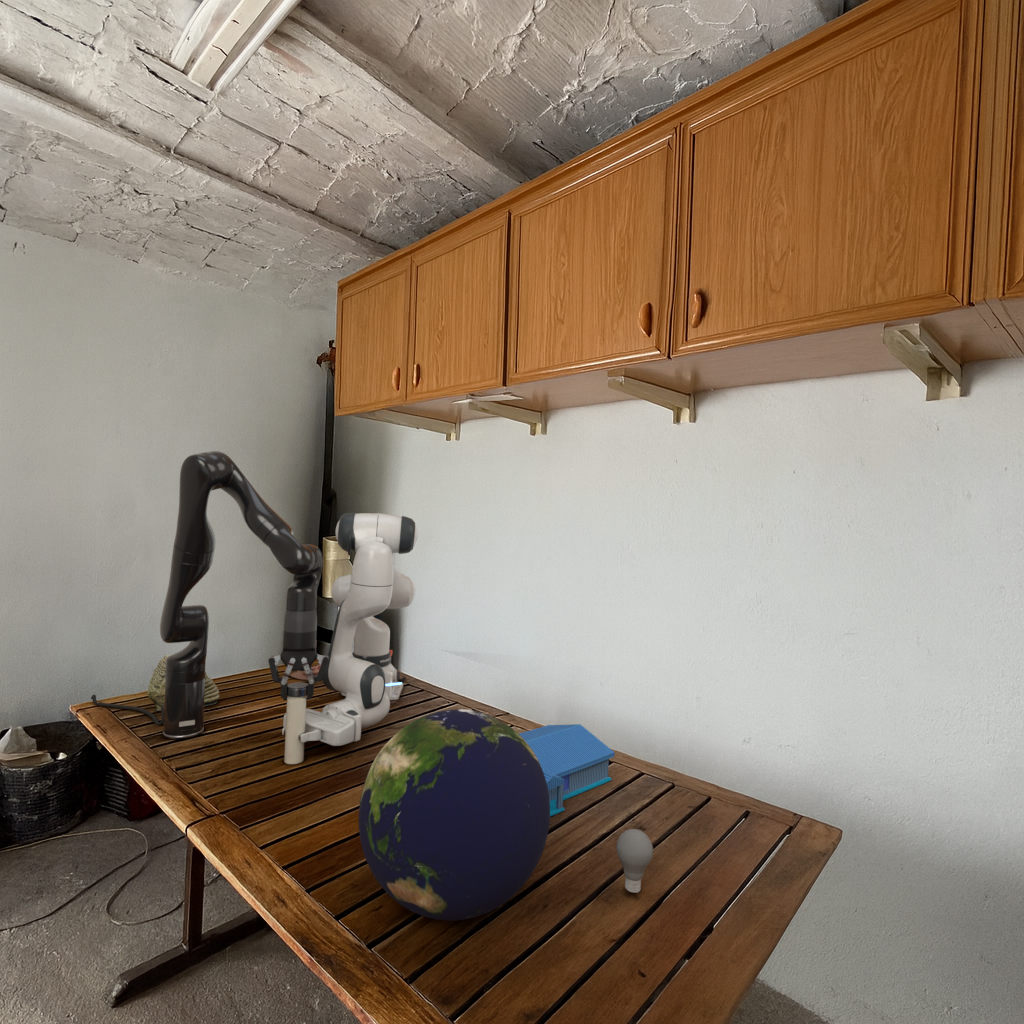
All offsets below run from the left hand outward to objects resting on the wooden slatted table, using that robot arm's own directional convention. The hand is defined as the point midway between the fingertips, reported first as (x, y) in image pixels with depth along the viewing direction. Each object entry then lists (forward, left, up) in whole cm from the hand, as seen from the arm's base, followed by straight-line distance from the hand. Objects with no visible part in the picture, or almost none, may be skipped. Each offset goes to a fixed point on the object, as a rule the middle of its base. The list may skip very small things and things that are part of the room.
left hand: (297, 698), depth 151 cm
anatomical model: (-63, +35, -15) cm, 73 cm away
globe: (+66, -4, -15) cm, 68 cm away
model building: (+45, +33, -15) cm, 58 cm away
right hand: (0, -1, -8) cm, 9 cm away
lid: (0, 0, +3) cm, 3 cm away
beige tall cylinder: (0, 0, -15) cm, 15 cm away
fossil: (-55, -9, -15) cm, 57 cm away
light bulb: (+83, +21, -15) cm, 87 cm away
